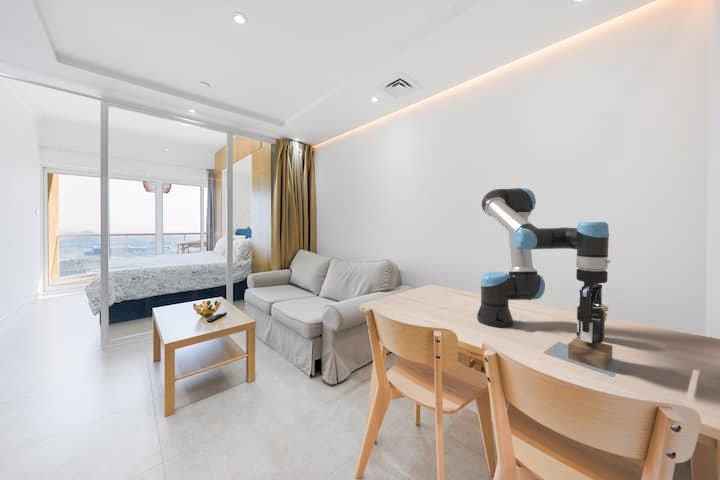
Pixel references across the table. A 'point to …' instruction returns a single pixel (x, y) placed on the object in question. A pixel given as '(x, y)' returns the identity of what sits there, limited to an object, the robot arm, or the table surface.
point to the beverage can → (594, 324)
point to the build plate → (561, 352)
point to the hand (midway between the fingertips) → (590, 337)
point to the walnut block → (590, 353)
